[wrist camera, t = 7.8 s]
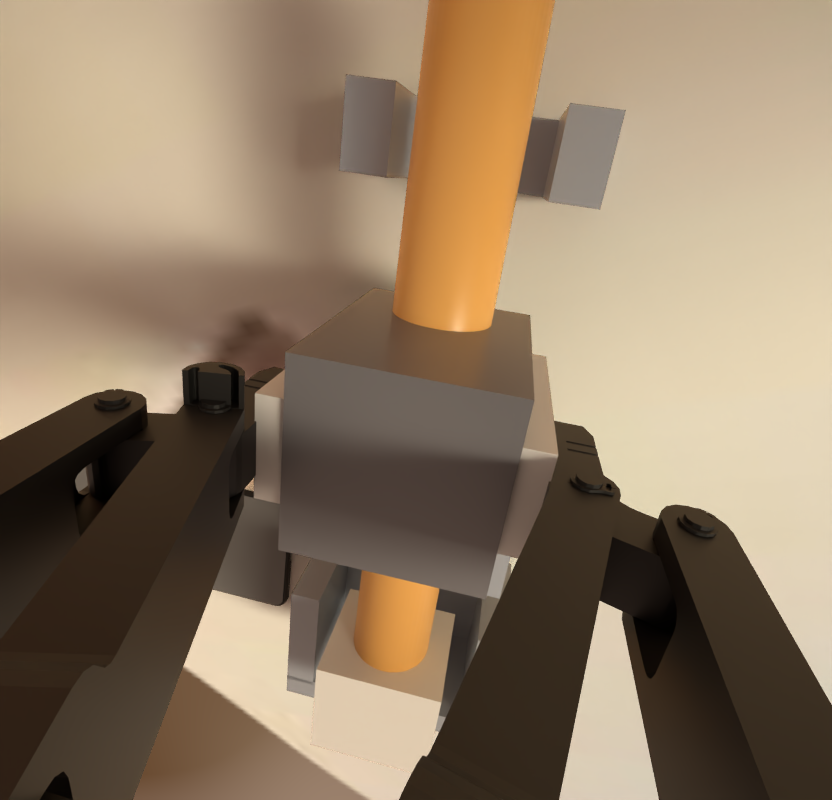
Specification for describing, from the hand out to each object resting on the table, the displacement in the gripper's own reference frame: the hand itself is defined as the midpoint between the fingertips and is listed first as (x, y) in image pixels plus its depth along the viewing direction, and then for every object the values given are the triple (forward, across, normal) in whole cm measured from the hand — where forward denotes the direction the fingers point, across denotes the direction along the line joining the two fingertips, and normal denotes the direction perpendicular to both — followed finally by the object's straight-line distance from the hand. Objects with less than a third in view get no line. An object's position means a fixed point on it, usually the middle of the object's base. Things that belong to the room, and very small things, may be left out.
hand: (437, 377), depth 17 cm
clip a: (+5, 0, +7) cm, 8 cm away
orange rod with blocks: (0, 0, -1) cm, 1 cm away
